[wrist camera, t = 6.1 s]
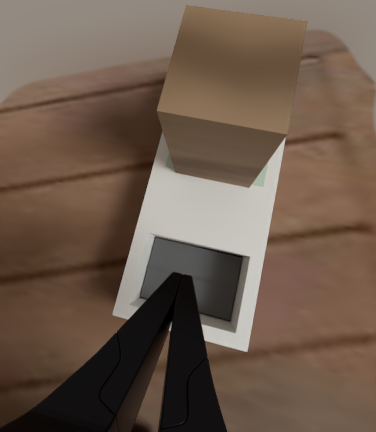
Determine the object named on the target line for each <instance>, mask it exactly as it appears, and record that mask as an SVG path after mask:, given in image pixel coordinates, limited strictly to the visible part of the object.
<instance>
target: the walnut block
mask: <svg viewBox="0 0 376 432" xmlns="http://www.w3.org/2000/svg"><path fill="white" fill-rule="evenodd" d="M306 28H307V21H300V20H293V19H284V18H278V17H270V16H263V15H255V14H247V13H240V12H233V11H225V10H217V9H211V8H203V7H196V6H188V5H186V8H185V12H184V15H183V19H182V22H181V26H180V30H179V33H178V36H177V40H176V44H175V47H174V51H173V54H172V58H171V61H170V65H169V68H168V72H167V75H166V79H165V83H164V86H163V90H162V93H161V97H160V100H159V104H158V107H157V114H158V117H159V121H160V124H161V127H162V130H163V134H164V137H165V140H166V144H167V147H168V150H169V153H170V157H171V160H172V163H173V166H174V170H175V173H179V174H184V175H188V176H193V177H198V178H203V179H208V180H213V181H218V182H222V183H227V184H232V185H237V186H242V187H247V188H250V186H251V185H252V184H253V182H254V181H255V179H256V178H257V177H258V175H259V174H260V172H261V171H262V170H263V168H264V167H265V165H266V164H267V163H268V161H269V160H270V158H271V157H272V156H273V154H274V153H275V151H276V150H277V149H278V147H279V146H280V144H281V143H282V142H283V140H284V139H285V137H286V136H287V134H288V129H289V123H290V118H291V112H292V106H293V101H294V95H295V89H296V84H297V78H298V73H299V67H300V61H301V56H302V50H303V44H304V39H305V33H306Z"/></svg>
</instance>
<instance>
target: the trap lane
mask: <svg viewBox="0 0 376 432" xmlns="http://www.w3.org/2000/svg"><path fill="white" fill-rule="evenodd" d="M285 138H286V137H285ZM284 144H285V139H284V140H283V142H282V143H281V144H280V146H279V147H278V149H277V150H276V151H275V153H274V154H273V156H272V157H271V158H270V160H269V161H268V163H267V164H266V165H265V167H264V168H263V170H262V171H261V172H260V174H259V175H258V177H257V178H256V179H255V181H254V182H253V184H252V185H251V186H250V188H247V187H242V186H237V185H232V184H227V183H222V182H218V181H213V180H208V179H203V178H198V177H193V176H188V175H184V174H179V173H175V170H174V166H173V163H172V160H171V157H170V153H169V150H168V147H167V144H166V140H165V137H164V134H163V131H162V135H161V138H160V142H159V146H158V149H157V153H156V157H155V160H154V164H153V168H152V171H151V175H150V179H149V182H148V186H147V190H146V193H145V197H144V201H143V204H142V208H141V212H140V215H139V219H138V223H137V226H136V230H135V234H134V237H133V241H132V245H131V248H130V252H129V256H128V259H127V263H126V267H125V270H124V274H123V277H122V281H121V285H120V288H119V292H118V296H117V299H116V303H115V307H114V310H113V314H112V315H113V316H117V317H121V318H124V319H129V318H130V317H131V316H132V315H133V314H134V313H135V312H136V311H137V310H138V308H139V307H140V306H141V305H142V304H143V303H144V302H145V301H146V300H147V299H148V298H149V297H150V296H151V294H152V293H153V292H154V291H155V290H156V289H157V288H158V287H159V286H160V285H161V284H162V283H163V281H164V280H165V279H166V278H167V277H168V276H169V275H170V274H171V273H172V272H173V271H176V272H180V273H182V275H183V274H188V275H192V277H193V282H194V287H195V292H196V298H197V303H198V308H199V312H201V313H204V314H208V315H212V316H216V317H220V318H223V319H227V320H230V318H231V321H227V320H223V319H219V318H216V317H212V316H208V315H204V314H200V313H199V314H200V319H201V324H202V329H203V335H204V340H205V341H208V342H212V343H216V344H219V345H223V346H227V347H230V348H234V349H238V350H241V351H245V352H247V350H248V345H249V339H250V334H251V328H252V323H253V317H254V311H255V306H256V300H257V295H258V289H259V283H260V278H261V272H262V267H263V261H264V255H265V250H266V244H267V239H268V233H269V228H270V222H271V216H272V211H273V205H274V200H275V194H276V188H277V183H278V177H279V172H280V166H281V161H282V155H283V149H284ZM155 236H158V237H162V238H166V239H171V240H175V241H179V242H183V243H188V244H192V245H196V246H200V247H205V248H209V249H213V250H218V251H222V252H226V253H230V254H235V255H239V256H243V259H242V258H240V257H236V256H232V255H228V254H223V253H219V252H215V251H211V250H206V249H202V248H198V247H194V246H189V245H185V244H181V243H177V242H172V241H168V240H164V239H160V238H155ZM154 239H155V241H154ZM153 243H154V245H153ZM152 247H153V249H152ZM151 251H152V252H151ZM150 255H151V256H150ZM149 259H150V260H149ZM241 261H242V264H241ZM148 262H149V264H148ZM240 266H241V269H240ZM146 270H147V272H146ZM239 271H240V274H239ZM145 274H146V276H145ZM238 276H239V279H238ZM144 278H145V280H144ZM143 282H144V283H143ZM237 282H238V285H237ZM142 286H143V287H142ZM141 290H142V291H141ZM235 292H236V295H235ZM140 293H141V295H140ZM139 297H143V298H147V299H143V298H139ZM234 297H235V300H234ZM233 302H234V305H233ZM232 307H233V310H232ZM231 313H232V316H231ZM171 325H172V323H171ZM169 331H171V326H170V329H169Z"/></svg>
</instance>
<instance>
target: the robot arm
mask: <svg viewBox="0 0 376 432" xmlns="http://www.w3.org/2000/svg"><path fill="white" fill-rule="evenodd" d="M171 323H172V325H171ZM170 326H171V332H170V340H169V348H168V356H167V363H166V371H165V379H164V387H163V395H162V403H161V411H160V419H159V427H158V432H227V429H226V426H225V423H224V420H223V416H222V413H221V410H220V406H219V403H218V399H217V396H216V392H215V388H214V384H213V380H212V375H211V371H210V366H209V361H208V358H207V351H206V345H205V340H204V335H203V329H202V324H201V319H200V314H199V308H198V303H197V298H196V292H195V287H194V282H193V277H192V275H188V274H183V275H182V273H180V272H176V271H173V272H172V273H171V274H170V275H169V276H168V277H167V278H166V279H165V280H164V281H163V283H162V284H161V285H160V286H159V287H158V288H157V289H156V290H155V291H154V292H153V293H152V294H151V296H150V297H149V298H148V299H147V300H146V301H145V302H144V303H143V304H142V305H141V306H140V307H139V308H138V310H137V311H136V312H135V313H134V314H133V315H132V316H131V317H130V318H129V319H128V320H127V321H126V323H125V324H124V325H123V326H122V327H121V328H120V329H119V330H118V331H117V333H115V334H114V335H113V336H112V338H111V339H110V340H109V341H108V342H107V343H106V344H105V345H104V346H103V347H102V348H101V349H100V350H99V351H98V352H97V353H96V354H95V355H94V356H93V357H92V358H91V359H90V360H88V361H87V362H86V363H85V364H84V365H83V366H82V367H81V368H80V369H78V370H77V371H76V372H75V373H74V374H73V375H72V376H71V377H69V378H68V379H67V380H66V381H65V382H64V383H63V384H61V385H60V386H59V387H58V388H57V389H56V390H55V391H54V392H52V393H51V394H50V395H49V396H48V397H47V398H45V399H44V400H43V401H42V402H41V403H39V404H38V405H37V406H35V407H34V408H33V409H31V410H30V411H28V412H27V413H25V414H24V415H22V416H20V417H19V418H17V419H15V420H13V421H11V422H10V423H8V424H6V425H4V426H3V427H1V428H0V432H136V431H133V430H132V428H133V425H134V422H135V420H136V417H137V414H138V412H139V409H140V407H141V404H142V401H143V399H144V396H145V393H146V391H147V388H148V385H149V383H150V380H151V377H152V375H153V372H154V369H155V367H156V364H157V361H158V359H159V356H160V353H161V351H162V348H163V345H164V343H165V340H166V337H167V335H168V332H169V329H170Z"/></svg>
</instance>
